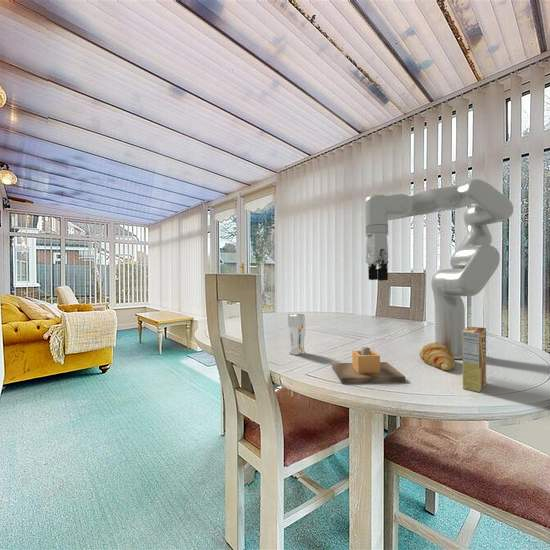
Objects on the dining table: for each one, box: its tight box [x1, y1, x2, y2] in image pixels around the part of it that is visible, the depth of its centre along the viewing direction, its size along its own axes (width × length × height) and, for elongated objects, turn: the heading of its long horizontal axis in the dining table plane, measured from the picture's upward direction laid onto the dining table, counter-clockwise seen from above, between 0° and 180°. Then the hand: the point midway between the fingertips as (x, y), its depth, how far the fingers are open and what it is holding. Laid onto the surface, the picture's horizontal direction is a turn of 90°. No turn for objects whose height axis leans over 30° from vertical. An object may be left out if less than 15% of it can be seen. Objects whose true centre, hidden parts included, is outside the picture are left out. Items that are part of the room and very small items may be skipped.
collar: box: [351, 349, 381, 373], centre depth 91 cm, size 6×6×5 cm
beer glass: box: [287, 313, 306, 356], centre depth 117 cm, size 7×7×15 cm
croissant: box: [418, 342, 456, 371], centre depth 102 cm, size 21×10×8 cm, turn 171°
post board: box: [331, 346, 406, 384], centre depth 91 cm, size 18×14×8 cm
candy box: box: [462, 326, 487, 393], centre depth 81 cm, size 9×4×15 cm, turn 137°
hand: (377, 280), depth 105 cm, fingers open, 9 cm apart
